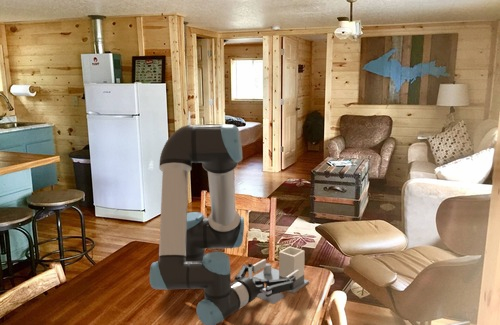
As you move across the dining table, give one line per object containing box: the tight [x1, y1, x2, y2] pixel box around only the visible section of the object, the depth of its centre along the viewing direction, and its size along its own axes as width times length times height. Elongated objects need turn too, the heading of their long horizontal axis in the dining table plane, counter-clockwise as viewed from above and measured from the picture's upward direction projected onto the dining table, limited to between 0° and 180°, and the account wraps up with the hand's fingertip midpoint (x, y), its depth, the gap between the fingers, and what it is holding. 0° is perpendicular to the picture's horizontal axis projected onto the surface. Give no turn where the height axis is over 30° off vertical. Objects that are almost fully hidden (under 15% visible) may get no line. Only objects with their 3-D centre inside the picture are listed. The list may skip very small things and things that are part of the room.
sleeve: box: [278, 246, 306, 289], centre depth 147 cm, size 6×6×12 cm
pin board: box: [252, 262, 310, 294], centre depth 151 cm, size 18×10×5 cm, turn 50°
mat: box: [256, 286, 287, 305], centre depth 141 cm, size 10×7×1 cm
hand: (281, 267), depth 141 cm, fingers open, 13 cm apart
